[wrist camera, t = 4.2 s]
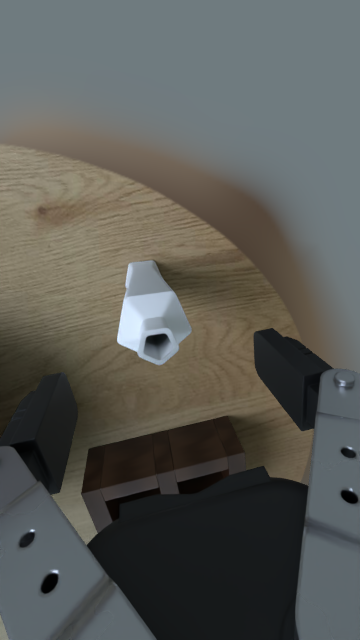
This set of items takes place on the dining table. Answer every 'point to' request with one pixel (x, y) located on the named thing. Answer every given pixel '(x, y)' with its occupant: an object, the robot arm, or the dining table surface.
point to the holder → (159, 466)
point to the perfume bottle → (151, 315)
